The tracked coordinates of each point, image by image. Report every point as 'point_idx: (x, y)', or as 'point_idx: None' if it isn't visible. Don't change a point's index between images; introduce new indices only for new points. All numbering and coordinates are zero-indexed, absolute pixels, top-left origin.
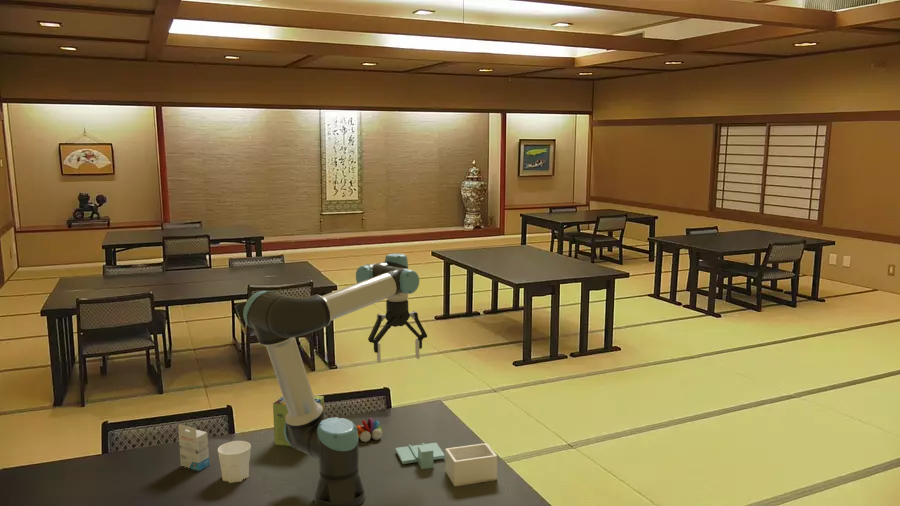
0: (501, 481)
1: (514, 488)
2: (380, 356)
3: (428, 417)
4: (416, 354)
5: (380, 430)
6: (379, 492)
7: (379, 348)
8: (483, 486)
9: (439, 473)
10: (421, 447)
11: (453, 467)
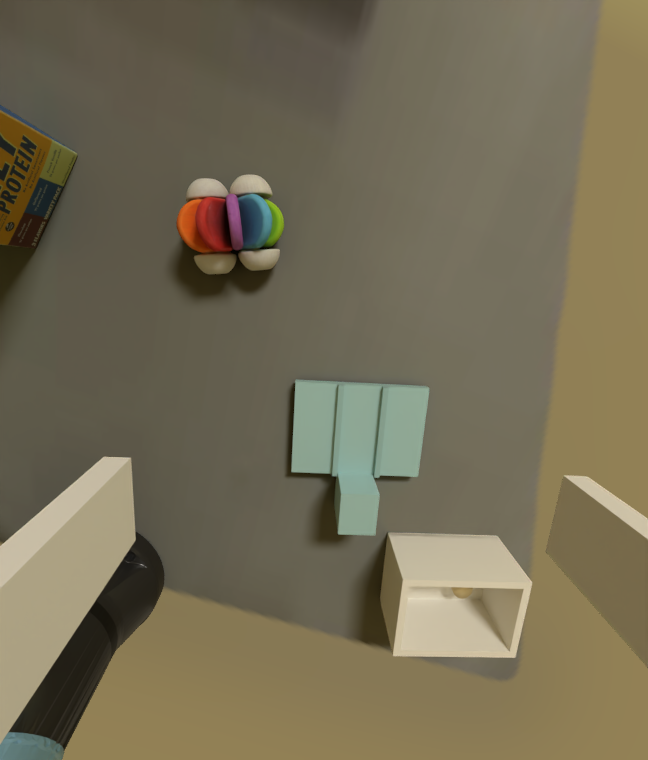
0: None
1: None
2: (99, 594)
3: (502, 120)
4: (580, 546)
5: (271, 256)
6: (201, 573)
7: (2, 716)
8: None
9: None
10: (348, 505)
11: (389, 629)
